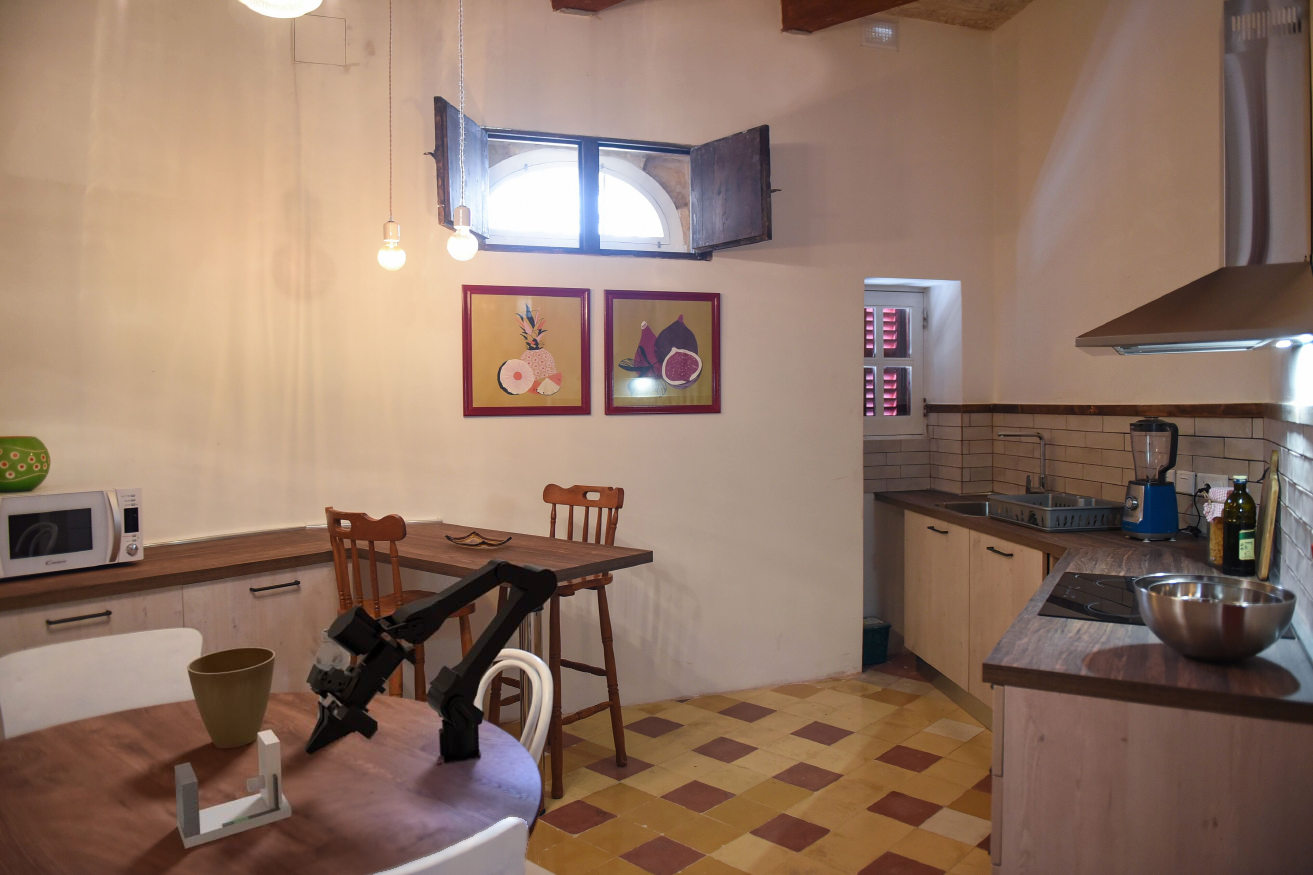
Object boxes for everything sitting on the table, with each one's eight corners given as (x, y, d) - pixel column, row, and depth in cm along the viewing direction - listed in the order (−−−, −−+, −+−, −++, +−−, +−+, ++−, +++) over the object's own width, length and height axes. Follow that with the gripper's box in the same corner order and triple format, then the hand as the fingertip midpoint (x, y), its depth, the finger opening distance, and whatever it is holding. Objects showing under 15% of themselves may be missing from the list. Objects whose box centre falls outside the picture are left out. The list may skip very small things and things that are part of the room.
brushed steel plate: (192, 812, 126) (189, 761, 126) (200, 833, 120) (197, 780, 120) (177, 816, 125) (174, 765, 125) (184, 838, 119) (182, 784, 118)
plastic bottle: (342, 738, 157) (338, 635, 156) (310, 736, 158) (306, 634, 157) (360, 725, 163) (356, 626, 162) (330, 722, 164) (326, 625, 163)
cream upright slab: (273, 789, 132) (270, 729, 132) (284, 807, 127) (281, 743, 126) (245, 797, 130) (242, 736, 129) (254, 815, 124) (252, 751, 124)
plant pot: (182, 740, 157) (178, 658, 156) (264, 719, 167) (261, 642, 166) (202, 765, 146) (198, 677, 145) (289, 740, 156) (285, 658, 155)
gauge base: (279, 796, 134) (278, 787, 134) (291, 816, 128) (290, 806, 127) (177, 826, 125) (177, 815, 125) (185, 848, 119) (184, 837, 119)
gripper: (321, 632, 142) (255, 709, 136) (355, 658, 128) (282, 746, 121) (368, 667, 148) (306, 743, 141) (406, 696, 133) (338, 782, 127)
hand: (307, 752), depth 133 cm, fingers closed
